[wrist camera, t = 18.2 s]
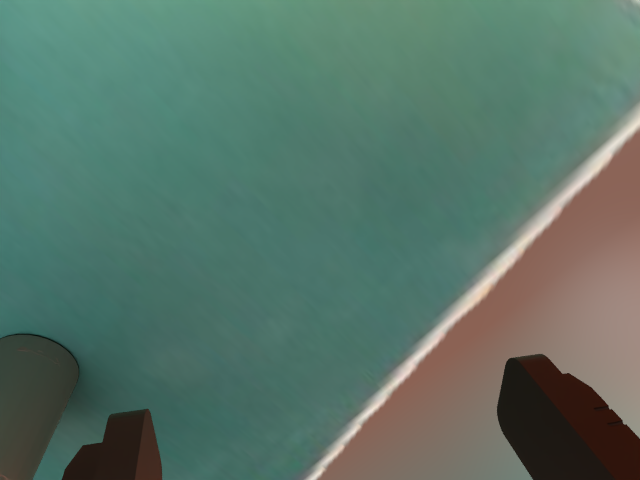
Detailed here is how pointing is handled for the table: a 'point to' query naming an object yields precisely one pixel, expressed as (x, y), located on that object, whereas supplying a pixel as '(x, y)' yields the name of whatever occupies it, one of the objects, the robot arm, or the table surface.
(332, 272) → the table surface
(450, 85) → the table surface
